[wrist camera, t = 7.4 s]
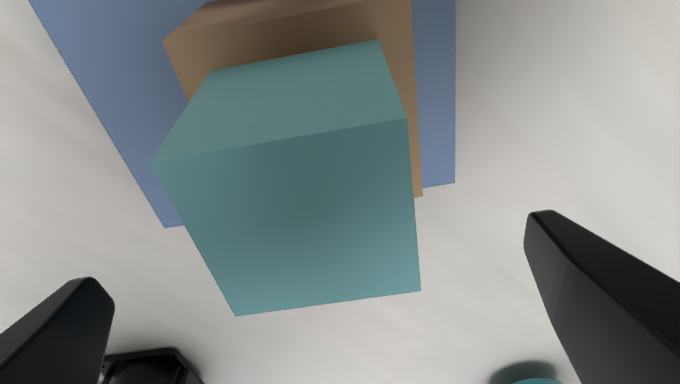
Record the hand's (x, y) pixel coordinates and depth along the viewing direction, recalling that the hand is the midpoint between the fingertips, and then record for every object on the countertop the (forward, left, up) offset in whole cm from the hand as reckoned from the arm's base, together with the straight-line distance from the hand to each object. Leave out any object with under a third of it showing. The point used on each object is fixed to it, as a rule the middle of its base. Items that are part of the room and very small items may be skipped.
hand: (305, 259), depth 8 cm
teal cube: (0, 0, -6) cm, 6 cm away
